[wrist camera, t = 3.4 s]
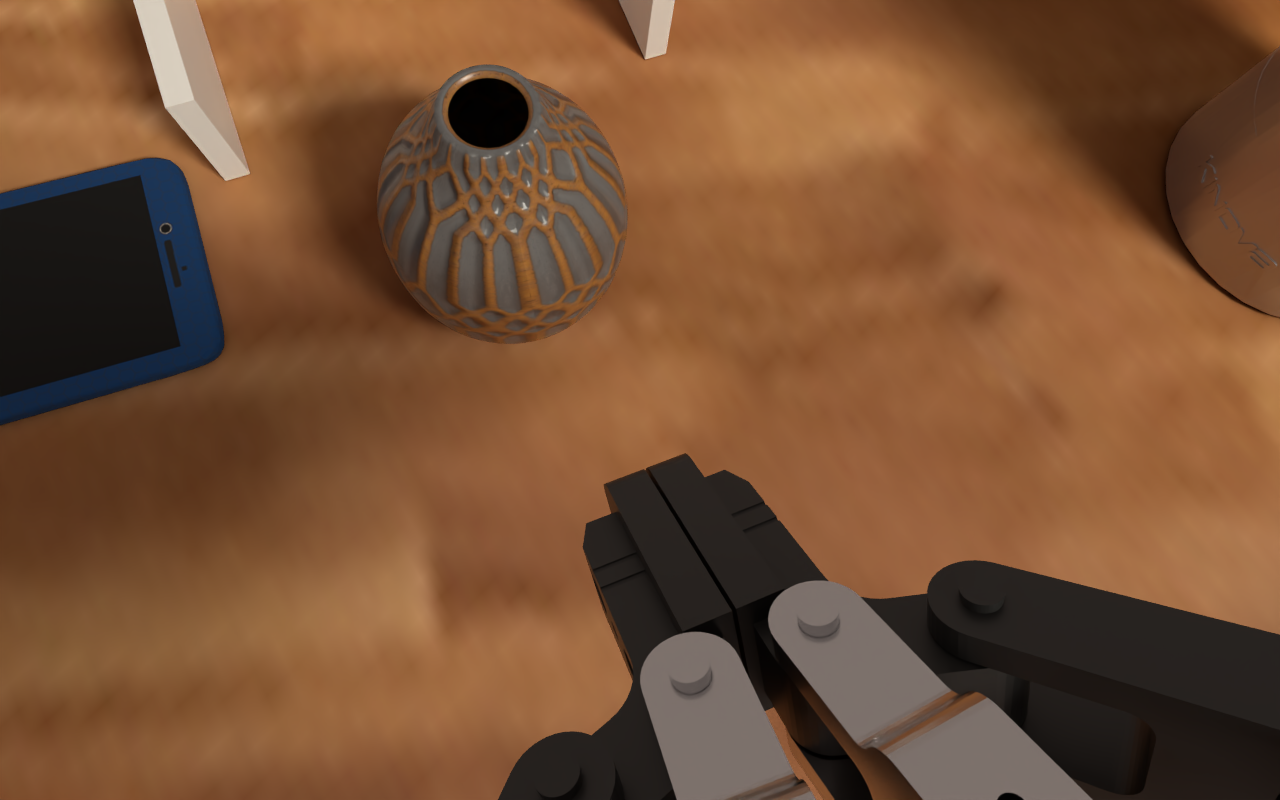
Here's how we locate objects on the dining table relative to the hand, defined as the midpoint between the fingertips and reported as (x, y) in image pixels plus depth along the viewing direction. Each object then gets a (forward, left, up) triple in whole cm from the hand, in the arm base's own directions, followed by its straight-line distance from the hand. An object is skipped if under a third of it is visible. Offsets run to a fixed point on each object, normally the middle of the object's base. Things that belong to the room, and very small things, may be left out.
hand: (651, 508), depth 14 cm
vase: (0, -10, -11) cm, 15 cm away
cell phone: (+16, -14, -11) cm, 24 cm away
